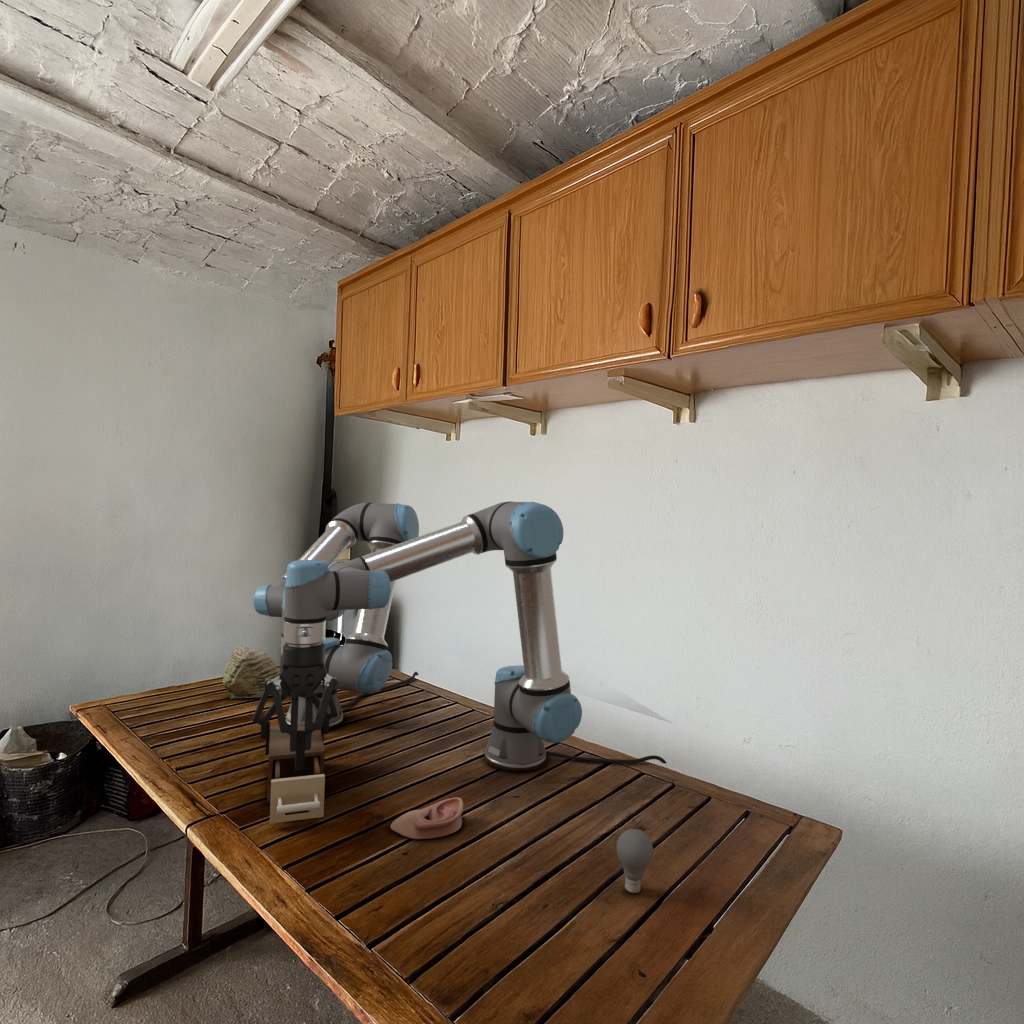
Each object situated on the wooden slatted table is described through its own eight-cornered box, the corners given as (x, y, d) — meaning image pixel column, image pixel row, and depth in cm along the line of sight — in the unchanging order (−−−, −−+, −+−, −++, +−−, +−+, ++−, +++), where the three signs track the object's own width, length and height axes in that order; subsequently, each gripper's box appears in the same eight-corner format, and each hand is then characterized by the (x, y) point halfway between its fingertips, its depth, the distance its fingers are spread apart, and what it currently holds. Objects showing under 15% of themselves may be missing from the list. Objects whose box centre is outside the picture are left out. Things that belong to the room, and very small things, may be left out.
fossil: (218, 695, 195) (220, 647, 195) (278, 685, 208) (279, 640, 207) (228, 703, 189) (230, 653, 188) (289, 692, 201) (290, 645, 201)
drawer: (325, 830, 118) (326, 787, 118) (269, 837, 115) (270, 794, 115) (318, 780, 139) (319, 744, 139) (270, 785, 136) (272, 748, 135)
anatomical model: (384, 813, 120) (406, 787, 131) (383, 834, 120) (405, 806, 131) (452, 824, 117) (468, 796, 128) (451, 845, 117) (467, 815, 128)
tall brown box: (323, 797, 133) (324, 751, 133) (267, 803, 129) (268, 756, 129) (318, 763, 150) (319, 722, 150) (268, 768, 146) (270, 726, 146)
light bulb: (610, 879, 108) (613, 822, 108) (644, 879, 109) (647, 822, 109) (619, 902, 102) (622, 840, 102) (655, 901, 103) (658, 840, 103)
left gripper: (241, 661, 137) (238, 761, 138) (352, 656, 145) (348, 751, 146) (243, 653, 144) (240, 748, 145) (349, 648, 152) (345, 739, 153)
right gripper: (266, 648, 113) (262, 779, 114) (341, 646, 118) (336, 771, 118) (267, 639, 120) (263, 762, 121) (338, 637, 125) (333, 755, 125)
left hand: (294, 750), depth 145 cm, fingers closed on tall brown box, 11 cm apart
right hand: (299, 767), depth 119 cm, fingers closed
